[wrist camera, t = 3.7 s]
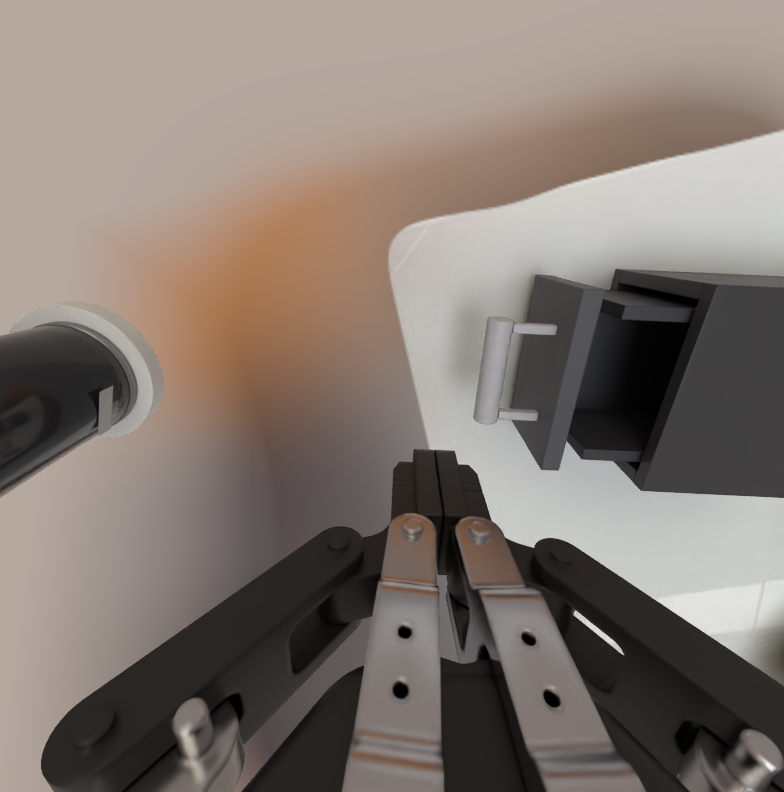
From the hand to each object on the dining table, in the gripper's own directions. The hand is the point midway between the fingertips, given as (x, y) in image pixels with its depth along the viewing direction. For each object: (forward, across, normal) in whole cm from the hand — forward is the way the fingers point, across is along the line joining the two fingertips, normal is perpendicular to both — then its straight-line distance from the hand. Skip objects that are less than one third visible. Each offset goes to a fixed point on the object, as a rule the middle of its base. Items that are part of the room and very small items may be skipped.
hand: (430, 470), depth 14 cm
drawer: (+17, -13, 0) cm, 21 cm away
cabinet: (+18, -22, 0) cm, 28 cm away
